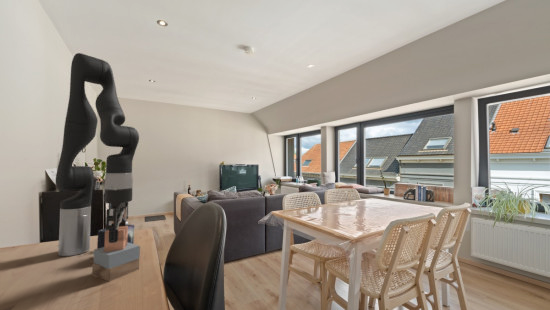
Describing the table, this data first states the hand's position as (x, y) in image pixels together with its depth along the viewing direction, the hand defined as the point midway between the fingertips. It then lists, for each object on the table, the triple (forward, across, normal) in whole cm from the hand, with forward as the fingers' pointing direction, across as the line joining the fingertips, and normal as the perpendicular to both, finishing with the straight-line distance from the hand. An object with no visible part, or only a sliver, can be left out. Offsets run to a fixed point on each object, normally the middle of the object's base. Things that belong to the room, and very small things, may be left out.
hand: (117, 238), depth 75 cm
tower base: (+11, 0, 0) cm, 11 cm away
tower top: (+7, 0, 0) cm, 7 cm away
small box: (+11, -16, -4) cm, 19 cm away
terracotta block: (+3, 0, 0) cm, 3 cm away
